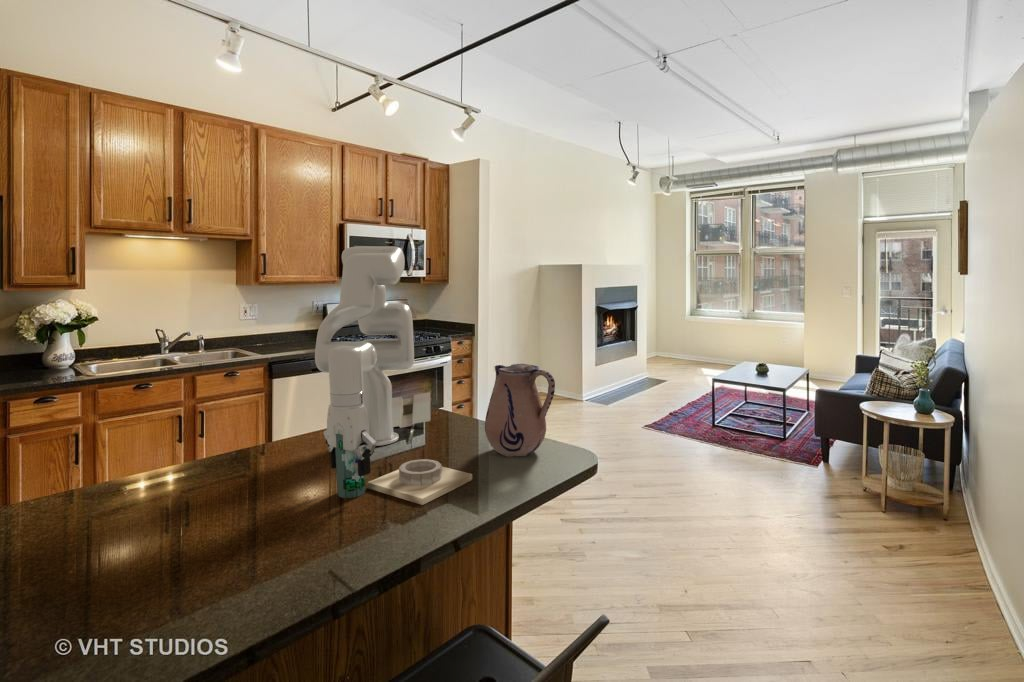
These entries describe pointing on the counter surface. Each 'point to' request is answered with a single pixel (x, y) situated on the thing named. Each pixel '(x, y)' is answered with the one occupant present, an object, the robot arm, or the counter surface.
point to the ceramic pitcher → (517, 410)
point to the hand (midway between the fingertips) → (350, 470)
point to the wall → (411, 410)
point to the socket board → (420, 491)
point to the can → (348, 471)
